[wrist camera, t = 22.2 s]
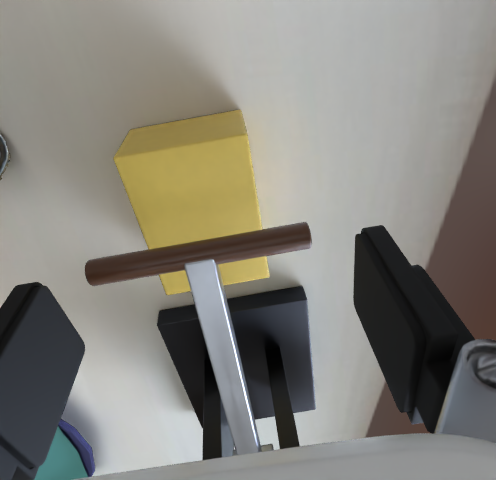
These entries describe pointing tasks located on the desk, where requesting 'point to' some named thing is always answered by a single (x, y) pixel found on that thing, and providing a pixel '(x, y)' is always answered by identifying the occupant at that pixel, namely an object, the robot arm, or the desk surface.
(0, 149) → the chocolate cake
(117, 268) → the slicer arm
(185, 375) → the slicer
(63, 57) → the desk surface
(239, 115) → the butter
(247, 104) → the desk surface
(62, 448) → the cutlery set
